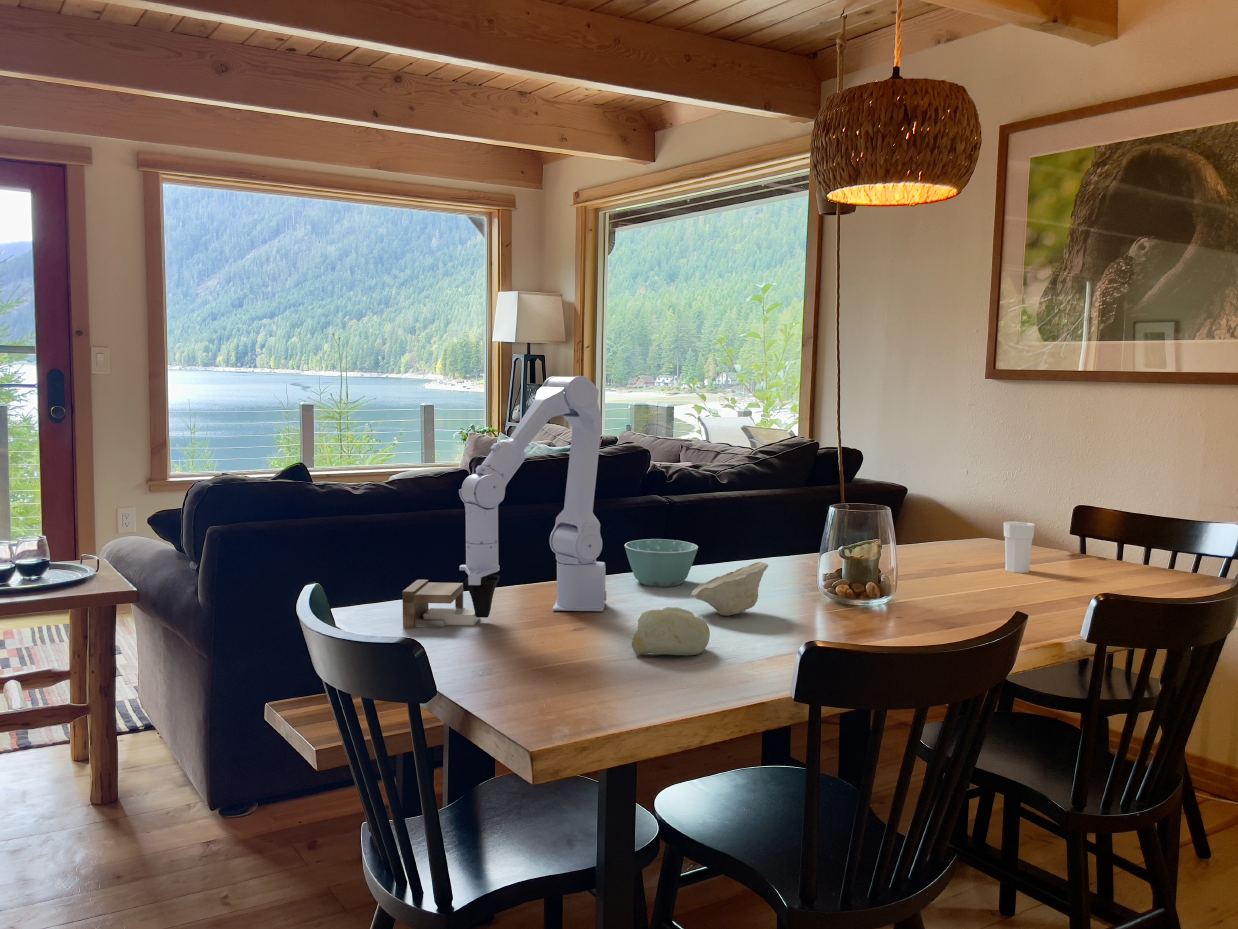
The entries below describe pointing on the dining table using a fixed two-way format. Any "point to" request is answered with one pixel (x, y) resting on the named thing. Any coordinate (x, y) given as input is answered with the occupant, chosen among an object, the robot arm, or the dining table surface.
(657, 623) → the smooth beige rock
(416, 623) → the shelf
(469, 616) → the tile
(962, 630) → the dining table surface
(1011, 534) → the cup
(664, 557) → the bowl
